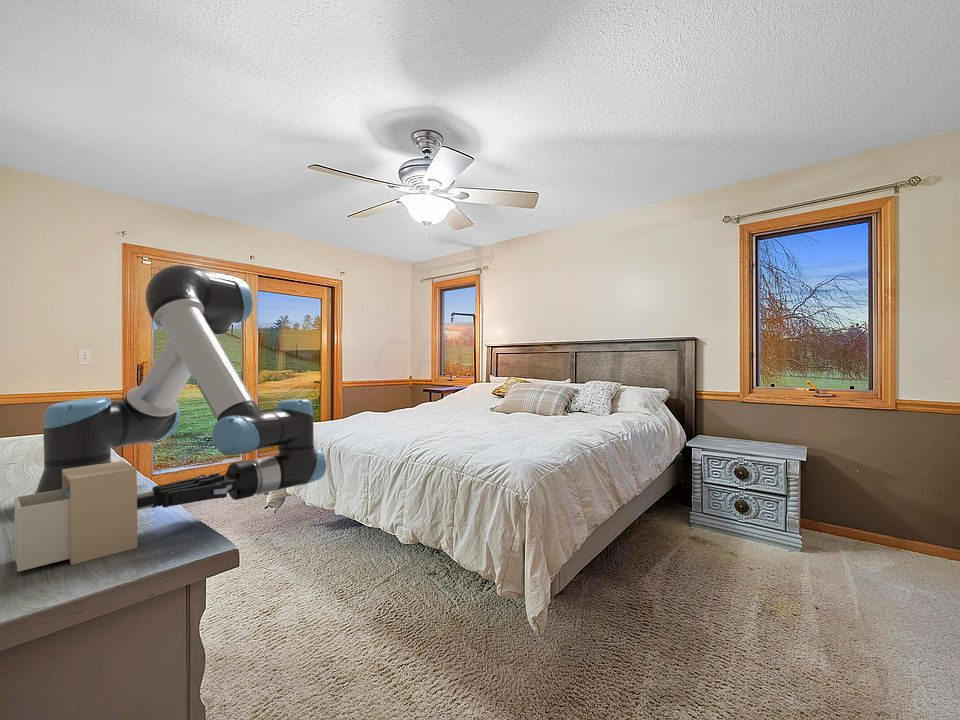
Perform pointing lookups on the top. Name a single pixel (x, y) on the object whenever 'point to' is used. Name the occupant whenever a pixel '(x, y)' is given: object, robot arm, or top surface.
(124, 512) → the sleeve
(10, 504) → the top surface
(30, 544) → the drawer box
